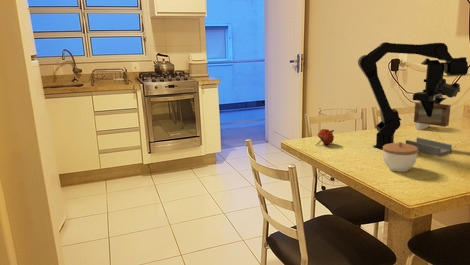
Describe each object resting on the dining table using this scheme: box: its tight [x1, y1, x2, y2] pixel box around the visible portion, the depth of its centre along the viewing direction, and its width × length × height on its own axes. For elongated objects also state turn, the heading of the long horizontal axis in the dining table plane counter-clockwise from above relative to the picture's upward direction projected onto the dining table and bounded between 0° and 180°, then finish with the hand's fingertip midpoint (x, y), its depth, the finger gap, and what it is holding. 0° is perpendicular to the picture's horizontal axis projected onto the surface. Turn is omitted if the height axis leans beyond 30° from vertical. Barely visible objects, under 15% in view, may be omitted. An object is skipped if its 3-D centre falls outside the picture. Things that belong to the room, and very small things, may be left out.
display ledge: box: [405, 137, 453, 157], centre depth 136 cm, size 7×14×3 cm, turn 26°
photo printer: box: [415, 122, 431, 131], centre depth 168 cm, size 10×4×12 cm, turn 134°
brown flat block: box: [413, 101, 451, 128], centre depth 136 cm, size 3×12×8 cm, turn 34°
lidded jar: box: [382, 142, 419, 173], centre depth 117 cm, size 11×11×9 cm
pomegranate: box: [315, 128, 335, 146], centre depth 151 cm, size 7×7×10 cm
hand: (431, 116), depth 136 cm, fingers closed on brown flat block, 2 cm apart
